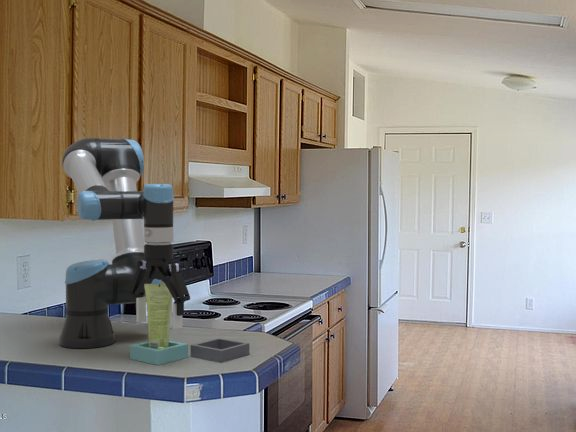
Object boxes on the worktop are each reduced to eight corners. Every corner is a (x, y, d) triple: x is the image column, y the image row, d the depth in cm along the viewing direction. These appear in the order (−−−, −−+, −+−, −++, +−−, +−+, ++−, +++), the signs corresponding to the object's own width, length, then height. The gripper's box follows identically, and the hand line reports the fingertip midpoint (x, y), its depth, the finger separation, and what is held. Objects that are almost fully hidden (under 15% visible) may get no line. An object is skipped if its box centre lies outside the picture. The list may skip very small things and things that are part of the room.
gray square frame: (190, 356, 189) (190, 344, 189) (218, 348, 198) (218, 337, 198) (221, 362, 183) (221, 350, 183) (249, 354, 192) (249, 343, 191)
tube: (161, 354, 191) (161, 281, 190) (174, 357, 188) (173, 283, 187) (144, 358, 187) (144, 283, 186) (157, 361, 183) (156, 285, 183)
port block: (130, 359, 186) (130, 343, 186) (160, 351, 194) (160, 336, 194) (158, 365, 180) (158, 348, 180) (187, 357, 188) (187, 341, 188)
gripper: (115, 241, 190) (116, 321, 191) (182, 247, 175) (182, 333, 176) (137, 240, 196) (137, 317, 197) (204, 245, 181) (204, 328, 182)
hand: (159, 324), depth 187 cm, fingers open, 13 cm apart
